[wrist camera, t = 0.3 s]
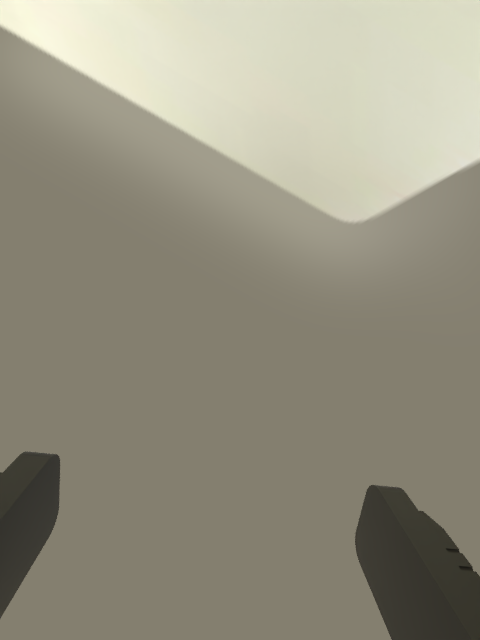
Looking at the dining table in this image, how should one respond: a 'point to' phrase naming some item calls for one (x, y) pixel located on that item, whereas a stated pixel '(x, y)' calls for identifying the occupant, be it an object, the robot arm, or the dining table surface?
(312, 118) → the dining table surface
